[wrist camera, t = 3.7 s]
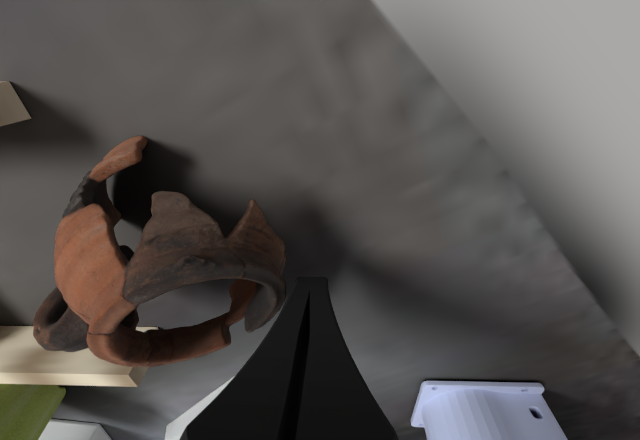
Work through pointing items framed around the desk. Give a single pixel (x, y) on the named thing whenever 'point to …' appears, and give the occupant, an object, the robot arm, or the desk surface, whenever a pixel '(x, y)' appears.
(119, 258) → the pottery mug
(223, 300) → the desk surface
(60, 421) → the medicine bottle
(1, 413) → the plant pot
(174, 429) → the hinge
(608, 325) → the desk surface
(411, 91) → the desk surface
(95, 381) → the cradle
